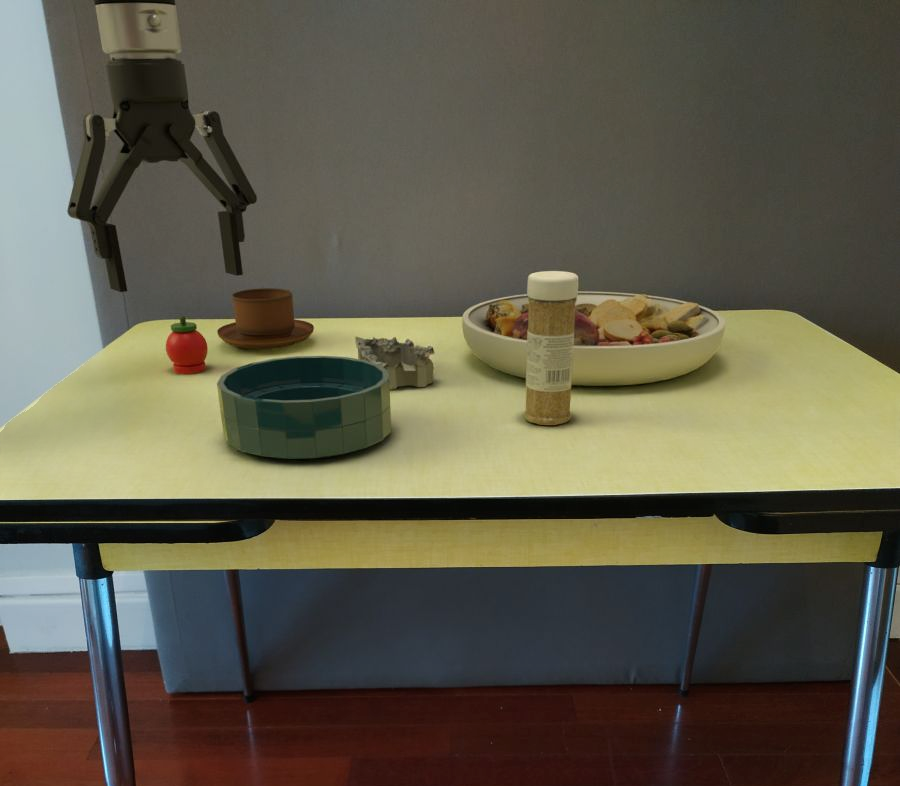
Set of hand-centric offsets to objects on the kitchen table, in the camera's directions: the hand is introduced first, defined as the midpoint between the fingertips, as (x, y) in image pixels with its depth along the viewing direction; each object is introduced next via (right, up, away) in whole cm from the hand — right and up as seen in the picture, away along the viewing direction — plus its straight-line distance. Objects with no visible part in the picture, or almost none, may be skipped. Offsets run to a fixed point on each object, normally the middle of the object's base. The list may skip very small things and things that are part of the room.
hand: (178, 282), depth 100 cm
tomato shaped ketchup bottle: (0, -9, +5) cm, 10 cm away
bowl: (+46, -7, +8) cm, 47 cm away
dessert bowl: (+17, -20, -16) cm, 31 cm away
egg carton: (+24, -10, +1) cm, 26 cm away
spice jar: (+39, -18, -12) cm, 45 cm away
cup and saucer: (+7, -3, +15) cm, 17 cm away
